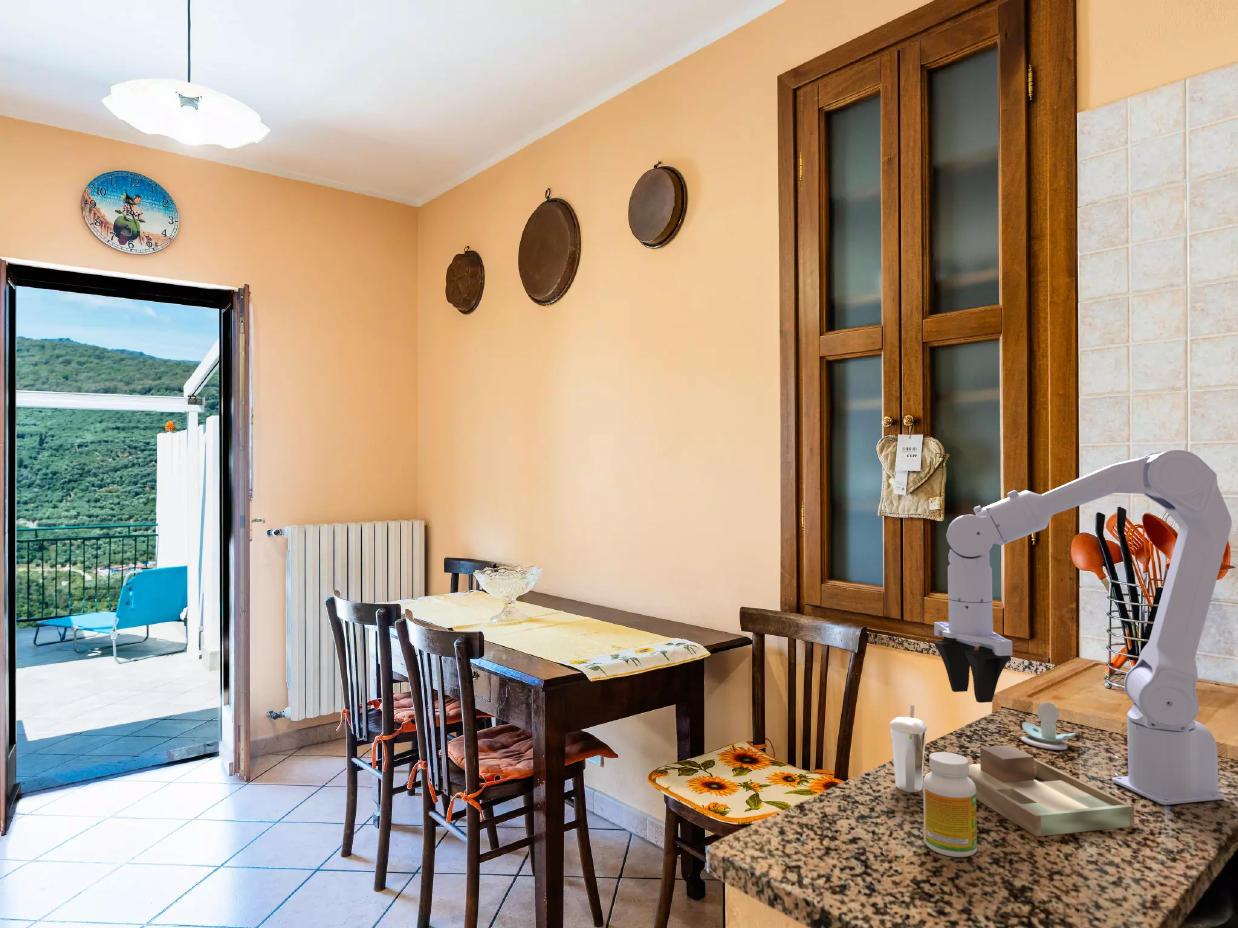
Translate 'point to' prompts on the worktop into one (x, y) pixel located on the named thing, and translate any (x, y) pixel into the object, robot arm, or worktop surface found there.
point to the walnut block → (1007, 763)
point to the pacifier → (1046, 729)
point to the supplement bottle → (949, 806)
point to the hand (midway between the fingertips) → (971, 696)
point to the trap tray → (1051, 802)
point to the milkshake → (908, 751)
